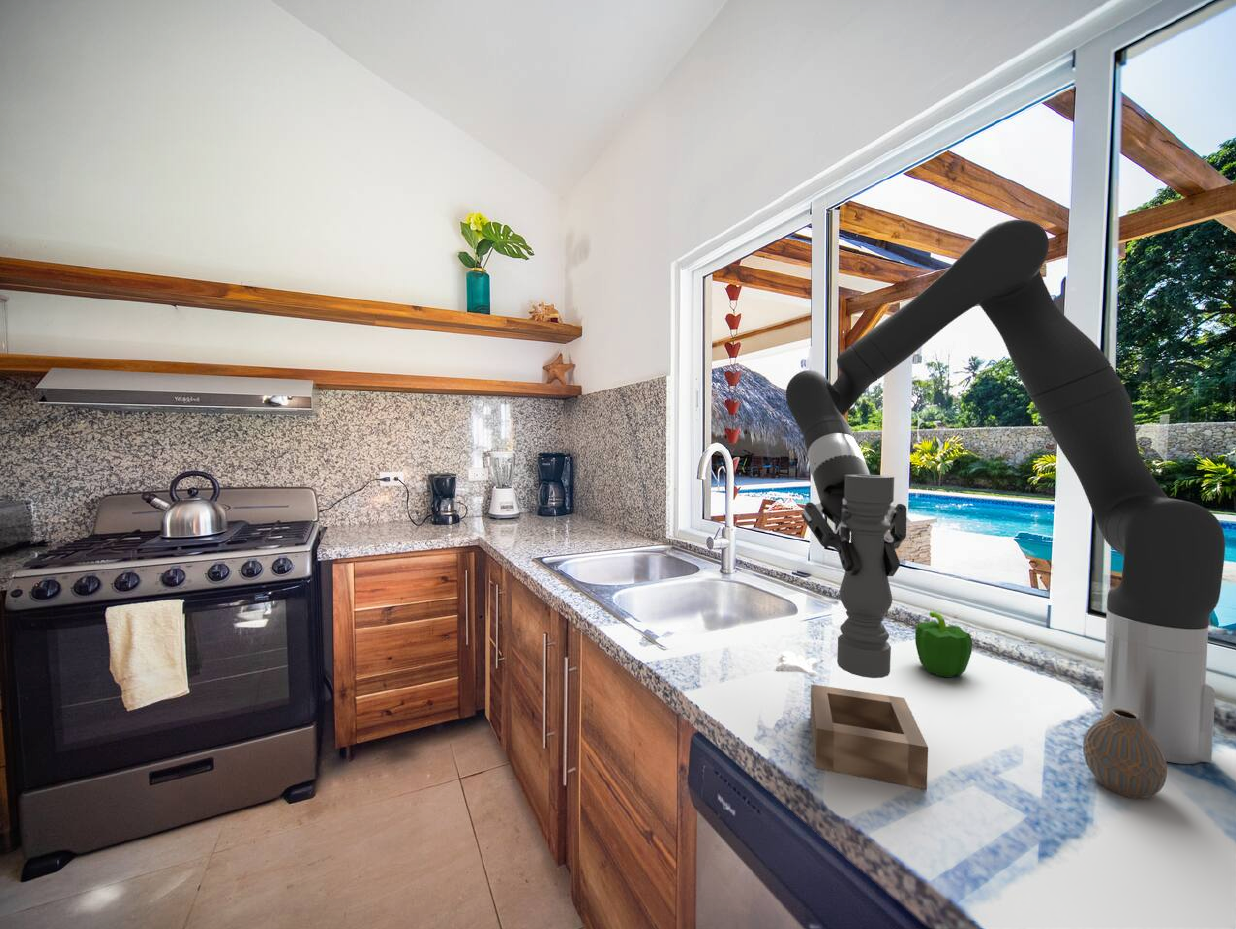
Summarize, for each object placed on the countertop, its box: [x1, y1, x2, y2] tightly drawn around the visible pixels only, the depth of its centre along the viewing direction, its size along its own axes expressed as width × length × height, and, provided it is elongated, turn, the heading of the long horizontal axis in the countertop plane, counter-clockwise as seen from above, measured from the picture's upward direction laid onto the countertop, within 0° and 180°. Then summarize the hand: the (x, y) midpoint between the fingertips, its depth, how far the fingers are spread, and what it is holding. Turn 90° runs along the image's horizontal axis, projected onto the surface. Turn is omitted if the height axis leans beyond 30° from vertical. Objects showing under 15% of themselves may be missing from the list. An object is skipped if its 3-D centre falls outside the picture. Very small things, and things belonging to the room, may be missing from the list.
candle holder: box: [836, 474, 895, 679], centre depth 65 cm, size 6×6×25 cm
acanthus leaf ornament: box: [775, 650, 821, 677], centre depth 91 cm, size 8×7×2 cm
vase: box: [1082, 709, 1168, 799], centre depth 59 cm, size 7×7×9 cm
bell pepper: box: [914, 611, 973, 678], centre depth 89 cm, size 8×8×10 cm
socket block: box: [809, 683, 929, 790], centre depth 65 cm, size 12×12×5 cm
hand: (873, 572), depth 63 cm, fingers closed on candle holder, 4 cm apart
